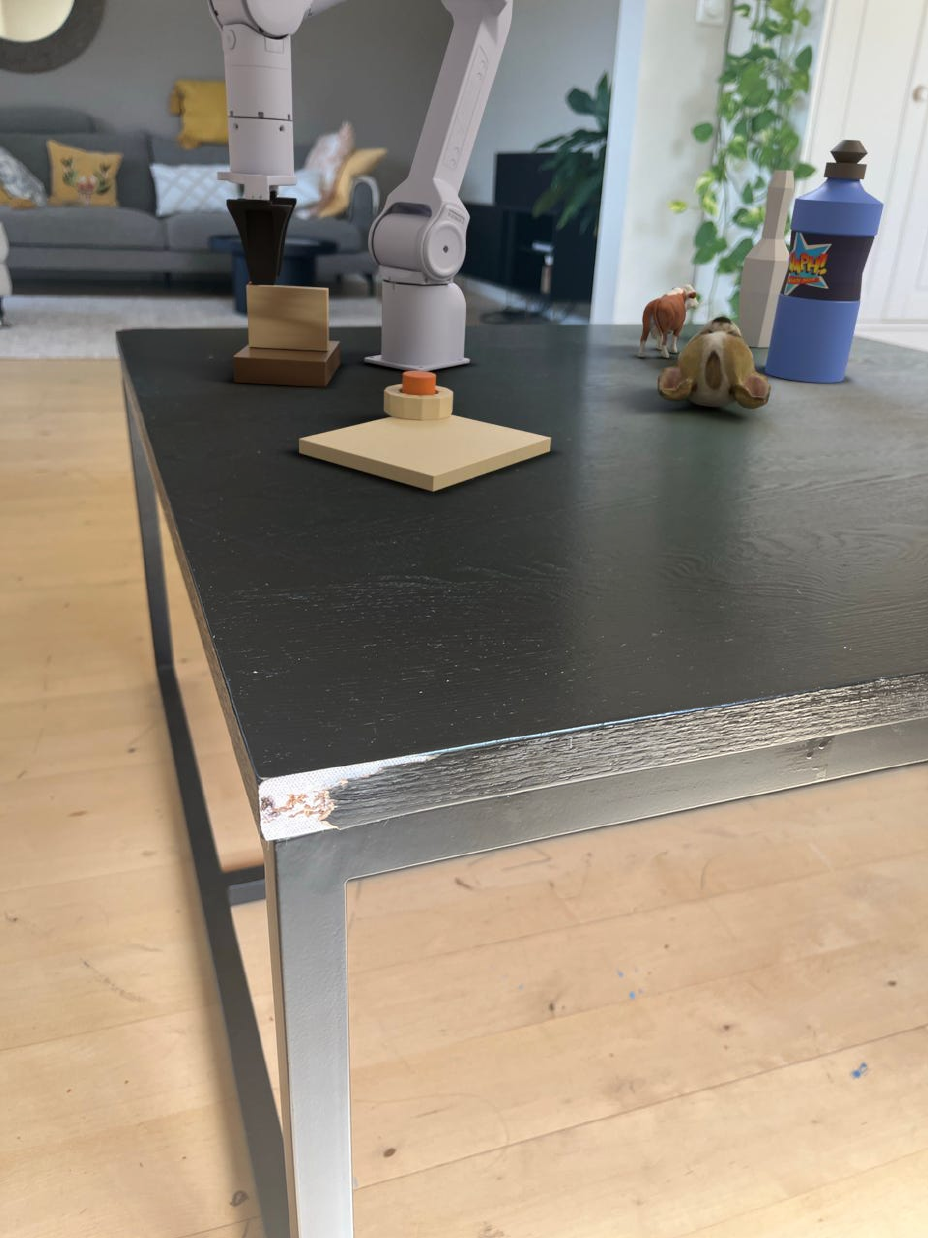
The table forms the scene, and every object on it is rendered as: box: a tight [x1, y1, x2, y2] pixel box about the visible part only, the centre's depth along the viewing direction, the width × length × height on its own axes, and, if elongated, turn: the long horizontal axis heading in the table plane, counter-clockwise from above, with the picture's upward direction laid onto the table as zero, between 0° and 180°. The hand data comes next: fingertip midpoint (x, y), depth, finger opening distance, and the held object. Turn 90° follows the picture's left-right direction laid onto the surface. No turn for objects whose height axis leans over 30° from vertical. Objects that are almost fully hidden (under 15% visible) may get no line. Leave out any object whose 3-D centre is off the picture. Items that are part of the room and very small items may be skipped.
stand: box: [232, 340, 341, 388], centre depth 98 cm, size 12×9×2 cm
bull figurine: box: [637, 283, 700, 359], centre depth 120 cm, size 4×13×8 cm, turn 148°
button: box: [401, 371, 437, 396], centre depth 80 cm, size 3×3×2 cm
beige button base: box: [298, 383, 552, 492], centre depth 75 cm, size 16×15×3 cm
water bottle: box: [764, 139, 885, 384], centre depth 108 cm, size 9×9×25 cm
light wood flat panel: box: [245, 281, 330, 351], centre depth 97 cm, size 8×1×6 cm, turn 90°
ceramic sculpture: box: [657, 316, 772, 410], centre depth 94 cm, size 11×9×15 cm
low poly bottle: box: [737, 169, 795, 348], centre depth 128 cm, size 6×6×22 cm
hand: (266, 280), depth 91 cm, fingers open, 7 cm apart
